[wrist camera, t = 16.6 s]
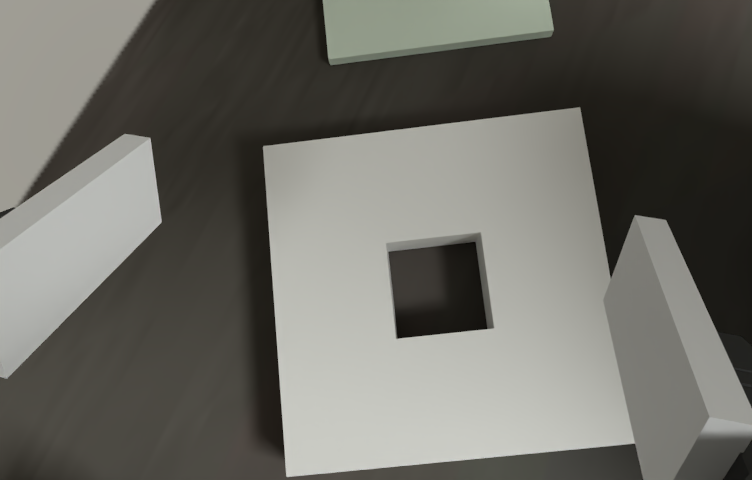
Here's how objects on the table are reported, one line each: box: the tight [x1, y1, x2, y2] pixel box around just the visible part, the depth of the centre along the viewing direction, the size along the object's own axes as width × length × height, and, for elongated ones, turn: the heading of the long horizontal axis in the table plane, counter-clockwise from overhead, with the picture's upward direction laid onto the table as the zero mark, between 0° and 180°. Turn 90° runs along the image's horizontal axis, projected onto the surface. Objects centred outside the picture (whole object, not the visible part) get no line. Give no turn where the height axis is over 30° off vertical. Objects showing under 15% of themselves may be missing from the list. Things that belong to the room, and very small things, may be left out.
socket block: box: [263, 107, 635, 477], centre depth 33 cm, size 18×18×3 cm
